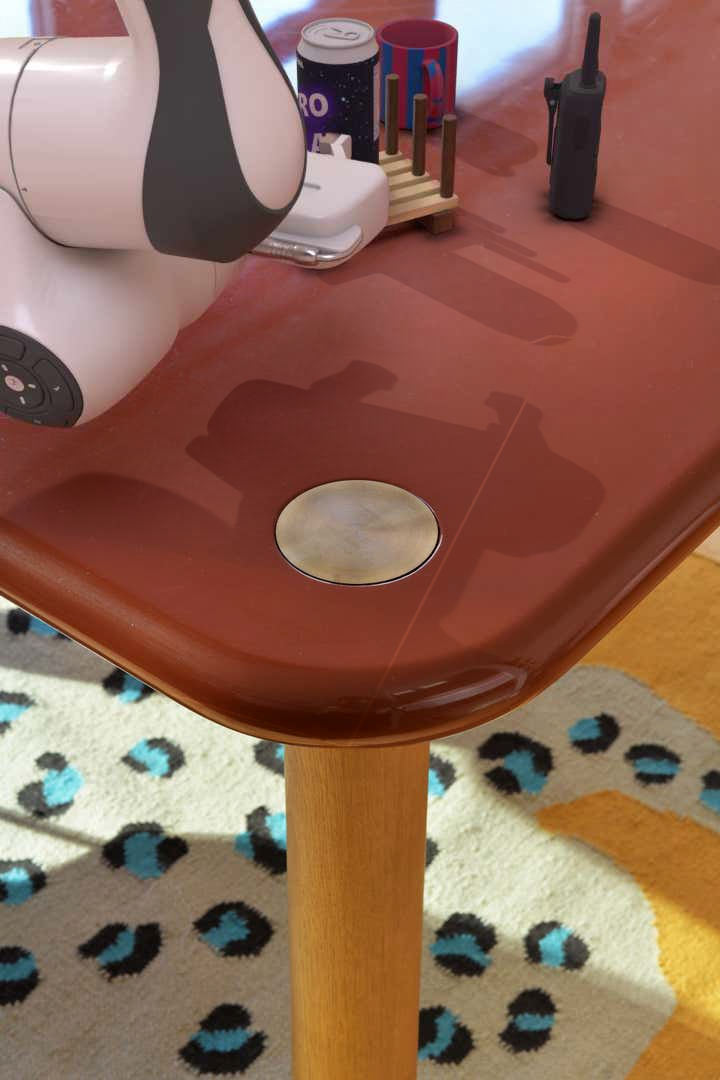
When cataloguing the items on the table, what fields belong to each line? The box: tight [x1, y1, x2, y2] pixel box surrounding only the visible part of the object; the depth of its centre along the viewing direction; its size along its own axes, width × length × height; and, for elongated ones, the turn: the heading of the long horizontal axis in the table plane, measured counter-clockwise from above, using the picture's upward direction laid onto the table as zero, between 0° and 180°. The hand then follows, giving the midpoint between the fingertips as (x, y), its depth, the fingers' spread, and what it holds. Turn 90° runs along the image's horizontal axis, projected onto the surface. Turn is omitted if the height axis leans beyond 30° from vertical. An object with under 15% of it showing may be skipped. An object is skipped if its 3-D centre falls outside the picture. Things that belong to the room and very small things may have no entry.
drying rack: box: [379, 74, 460, 236], centre depth 98 cm, size 13×10×8 cm
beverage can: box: [295, 17, 380, 165], centre depth 95 cm, size 6×6×12 cm
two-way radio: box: [543, 11, 607, 220], centre depth 98 cm, size 6×4×15 cm
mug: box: [375, 17, 459, 131], centre depth 111 cm, size 7×10×7 cm
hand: (272, 132), depth 86 cm, fingers open, 8 cm apart
